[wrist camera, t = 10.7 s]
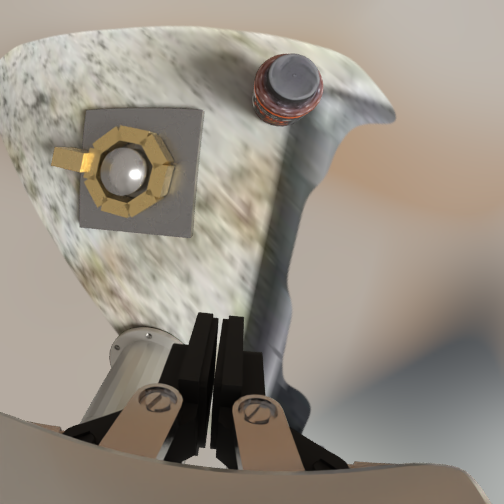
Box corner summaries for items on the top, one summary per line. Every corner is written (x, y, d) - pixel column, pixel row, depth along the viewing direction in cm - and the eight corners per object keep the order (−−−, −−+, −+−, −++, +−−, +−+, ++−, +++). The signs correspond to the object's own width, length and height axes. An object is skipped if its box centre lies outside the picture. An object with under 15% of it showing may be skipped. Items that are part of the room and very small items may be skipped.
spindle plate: (192, 235, 36) (184, 247, 31) (75, 223, 35) (54, 233, 30) (204, 111, 32) (197, 103, 27) (81, 112, 31) (59, 107, 26)
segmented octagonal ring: (182, 139, 31) (173, 136, 27) (160, 220, 34) (150, 227, 30) (80, 118, 30) (62, 115, 26) (64, 192, 32) (45, 197, 28)
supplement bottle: (244, 116, 32) (242, 95, 21) (263, 69, 31) (269, 31, 20) (295, 135, 33) (317, 123, 22) (313, 89, 31) (341, 59, 21)
